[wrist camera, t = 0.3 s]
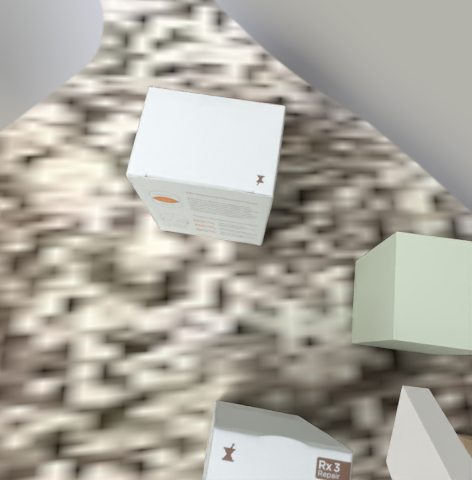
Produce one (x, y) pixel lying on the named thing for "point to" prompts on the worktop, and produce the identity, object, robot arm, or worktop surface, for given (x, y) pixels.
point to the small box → (207, 163)
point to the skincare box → (271, 447)
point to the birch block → (466, 442)
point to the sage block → (415, 295)
